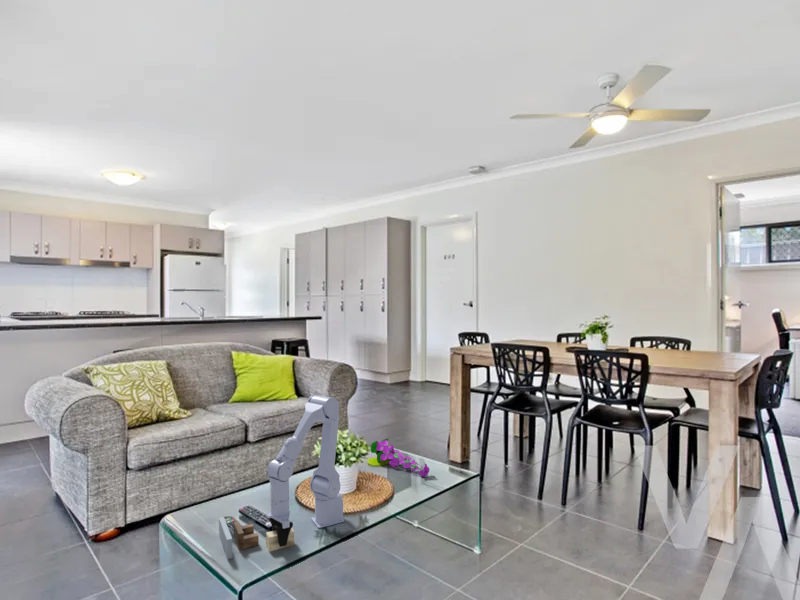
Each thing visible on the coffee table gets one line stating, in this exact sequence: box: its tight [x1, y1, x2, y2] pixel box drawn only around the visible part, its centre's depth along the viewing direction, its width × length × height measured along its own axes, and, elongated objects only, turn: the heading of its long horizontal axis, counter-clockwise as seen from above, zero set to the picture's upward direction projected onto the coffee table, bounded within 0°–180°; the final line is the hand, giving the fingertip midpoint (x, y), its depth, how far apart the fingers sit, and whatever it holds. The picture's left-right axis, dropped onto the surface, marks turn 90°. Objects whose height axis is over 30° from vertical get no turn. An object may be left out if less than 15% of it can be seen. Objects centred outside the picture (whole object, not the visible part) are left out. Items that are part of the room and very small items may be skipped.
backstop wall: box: [218, 516, 233, 560], centre depth 148 cm, size 2×16×6 cm, turn 29°
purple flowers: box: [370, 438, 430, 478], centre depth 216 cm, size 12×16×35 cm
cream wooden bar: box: [265, 527, 295, 552], centre depth 149 cm, size 8×4×4 cm, turn 119°
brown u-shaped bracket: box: [233, 520, 260, 551], centre depth 152 cm, size 6×9×5 cm, turn 29°
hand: (280, 541), depth 149 cm, fingers open, 5 cm apart
